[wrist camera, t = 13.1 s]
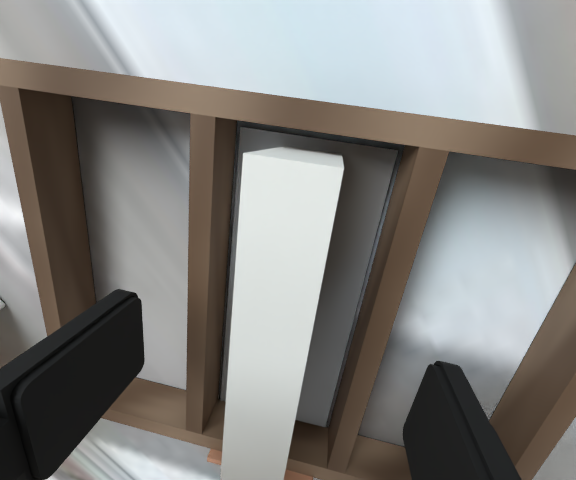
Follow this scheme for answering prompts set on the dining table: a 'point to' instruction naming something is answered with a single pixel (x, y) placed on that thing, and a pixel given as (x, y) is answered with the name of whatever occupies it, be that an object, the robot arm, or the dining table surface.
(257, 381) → the panel
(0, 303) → the ink cartridge box
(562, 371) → the rack
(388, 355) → the dining table surface
